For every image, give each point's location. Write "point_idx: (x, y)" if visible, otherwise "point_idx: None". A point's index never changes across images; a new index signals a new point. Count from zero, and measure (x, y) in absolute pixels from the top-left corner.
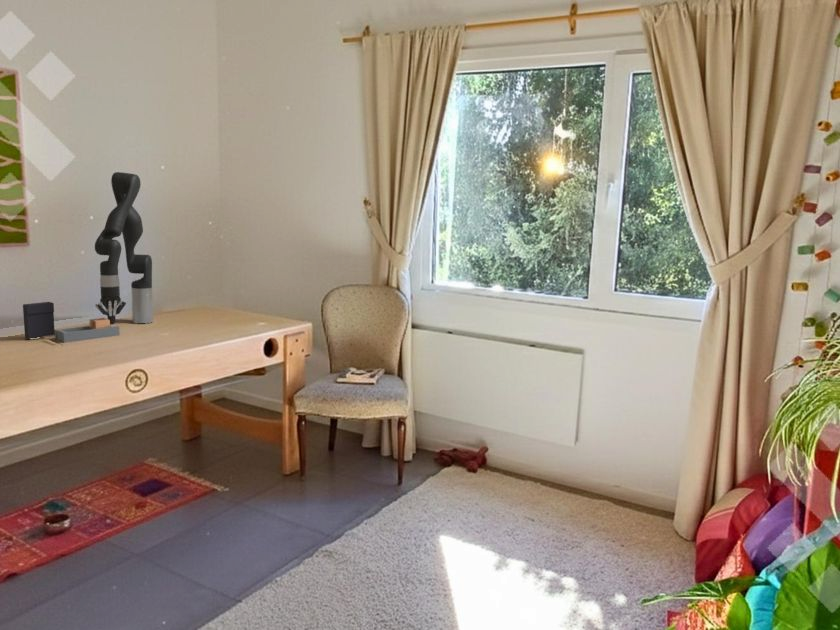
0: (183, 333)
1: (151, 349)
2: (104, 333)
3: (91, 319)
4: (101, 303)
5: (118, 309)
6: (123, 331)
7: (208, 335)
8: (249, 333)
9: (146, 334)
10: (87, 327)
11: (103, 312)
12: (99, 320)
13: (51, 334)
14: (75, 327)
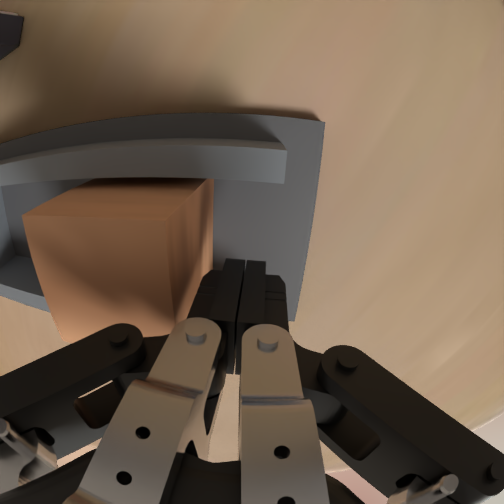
0: (470, 369)
1: (236, 456)
2: None
3: (34, 227)
4: (26, 493)
5: (338, 448)
6: (407, 136)
7: (457, 411)
8: (488, 416)
9: (412, 318)
10: (60, 178)
11: (95, 403)
12: (90, 328)
13: (1, 52)
14: (3, 165)
